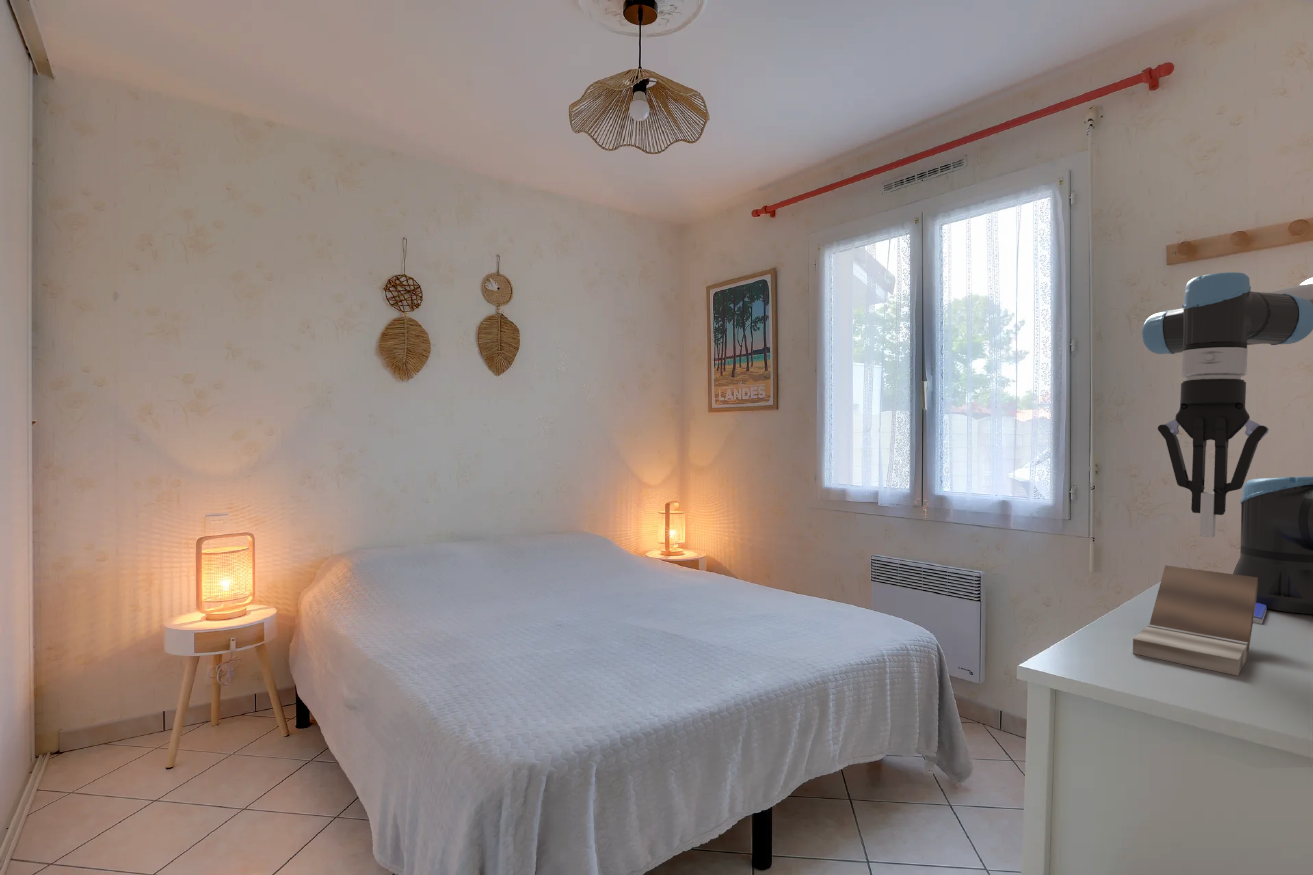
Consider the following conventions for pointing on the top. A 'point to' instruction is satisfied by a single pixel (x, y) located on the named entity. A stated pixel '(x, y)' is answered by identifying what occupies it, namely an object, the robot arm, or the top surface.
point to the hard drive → (1259, 613)
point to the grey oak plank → (1191, 649)
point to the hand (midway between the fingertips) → (1207, 535)
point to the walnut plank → (1206, 603)
